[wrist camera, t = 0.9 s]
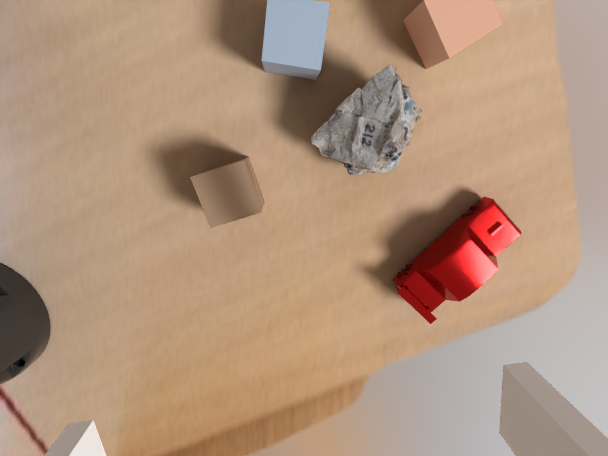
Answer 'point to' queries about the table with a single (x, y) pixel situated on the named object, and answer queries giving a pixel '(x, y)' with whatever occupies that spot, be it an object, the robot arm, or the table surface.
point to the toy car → (458, 259)
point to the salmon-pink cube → (449, 26)
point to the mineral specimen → (370, 125)
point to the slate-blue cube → (295, 37)
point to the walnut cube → (228, 192)
